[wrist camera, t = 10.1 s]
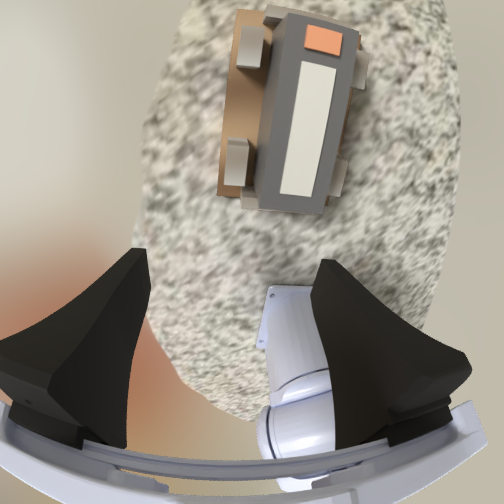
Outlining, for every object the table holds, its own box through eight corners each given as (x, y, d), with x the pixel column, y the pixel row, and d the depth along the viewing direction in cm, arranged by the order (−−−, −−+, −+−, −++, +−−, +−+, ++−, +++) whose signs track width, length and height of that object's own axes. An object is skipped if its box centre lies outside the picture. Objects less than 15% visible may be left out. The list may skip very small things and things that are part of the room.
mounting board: (323, 200, 20) (338, 222, 17) (217, 190, 19) (215, 211, 16) (355, 36, 13) (379, 30, 10) (237, 12, 12) (238, -3, 9)
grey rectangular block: (301, 181, 18) (323, 216, 14) (252, 176, 18) (259, 210, 14) (326, 42, 13) (361, 31, 8) (272, 31, 12) (289, 11, 8)
